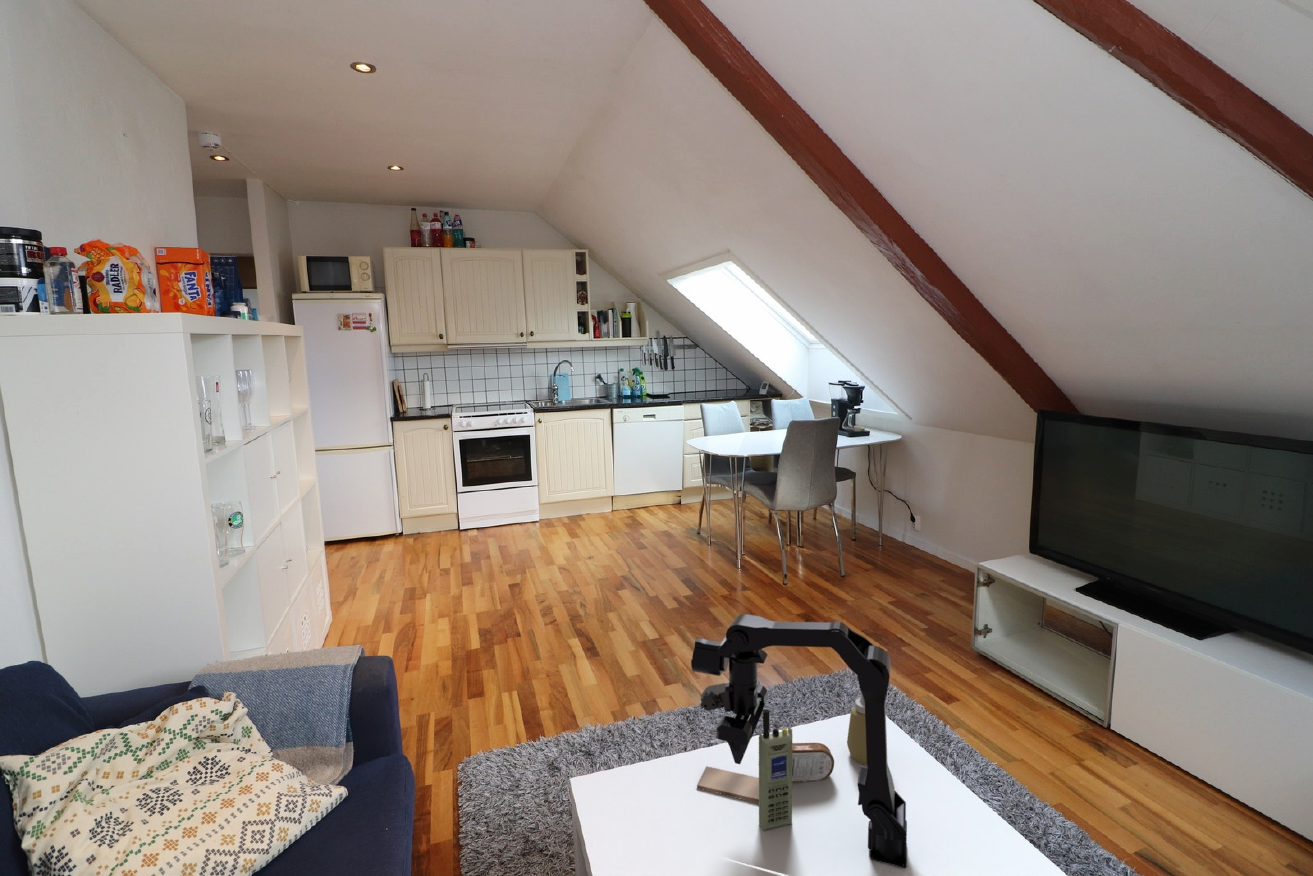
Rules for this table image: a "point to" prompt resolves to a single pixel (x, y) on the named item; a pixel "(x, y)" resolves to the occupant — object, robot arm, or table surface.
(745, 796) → the walnut board
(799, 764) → the tin
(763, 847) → the table surface
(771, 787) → the handheld radio
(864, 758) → the squeeze bottle
